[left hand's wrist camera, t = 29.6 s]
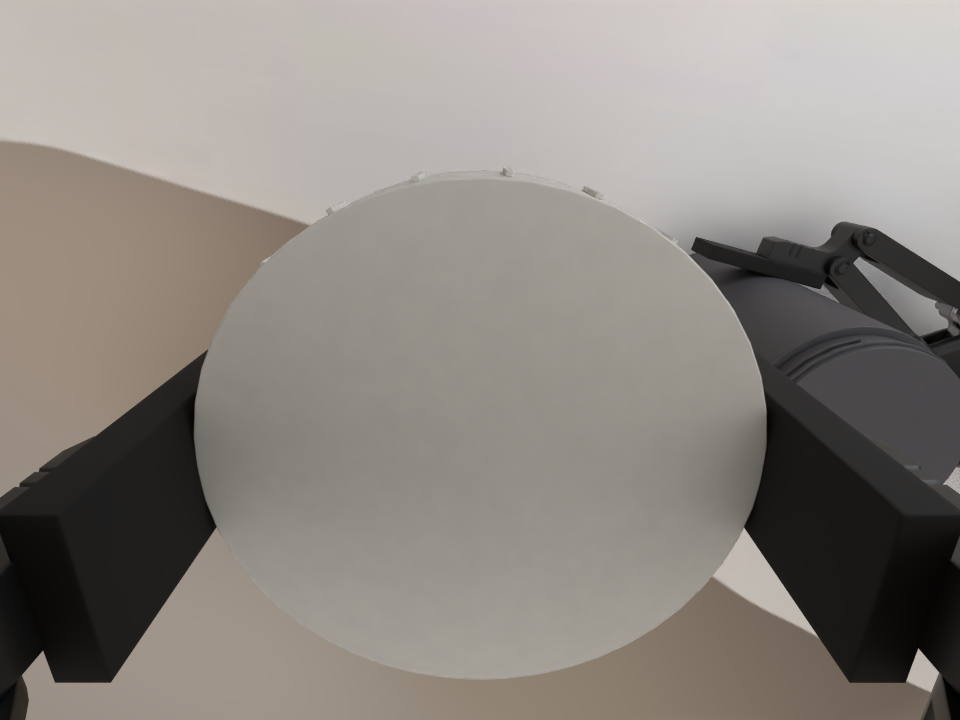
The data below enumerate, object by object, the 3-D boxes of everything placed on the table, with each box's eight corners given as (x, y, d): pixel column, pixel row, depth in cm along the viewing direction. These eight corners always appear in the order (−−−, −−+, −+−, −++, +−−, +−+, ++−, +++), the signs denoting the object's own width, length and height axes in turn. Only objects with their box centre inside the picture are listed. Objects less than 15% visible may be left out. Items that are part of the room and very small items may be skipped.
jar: (641, 253, 38) (766, 342, 21) (779, 249, 38) (1012, 335, 21) (631, 379, 41) (733, 541, 25) (758, 376, 41) (945, 536, 25)
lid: (476, 680, 14) (476, 751, 13) (130, 419, 12) (72, 466, 10) (826, 433, 12) (883, 481, 10) (485, 28, 9) (486, 4, 7)
